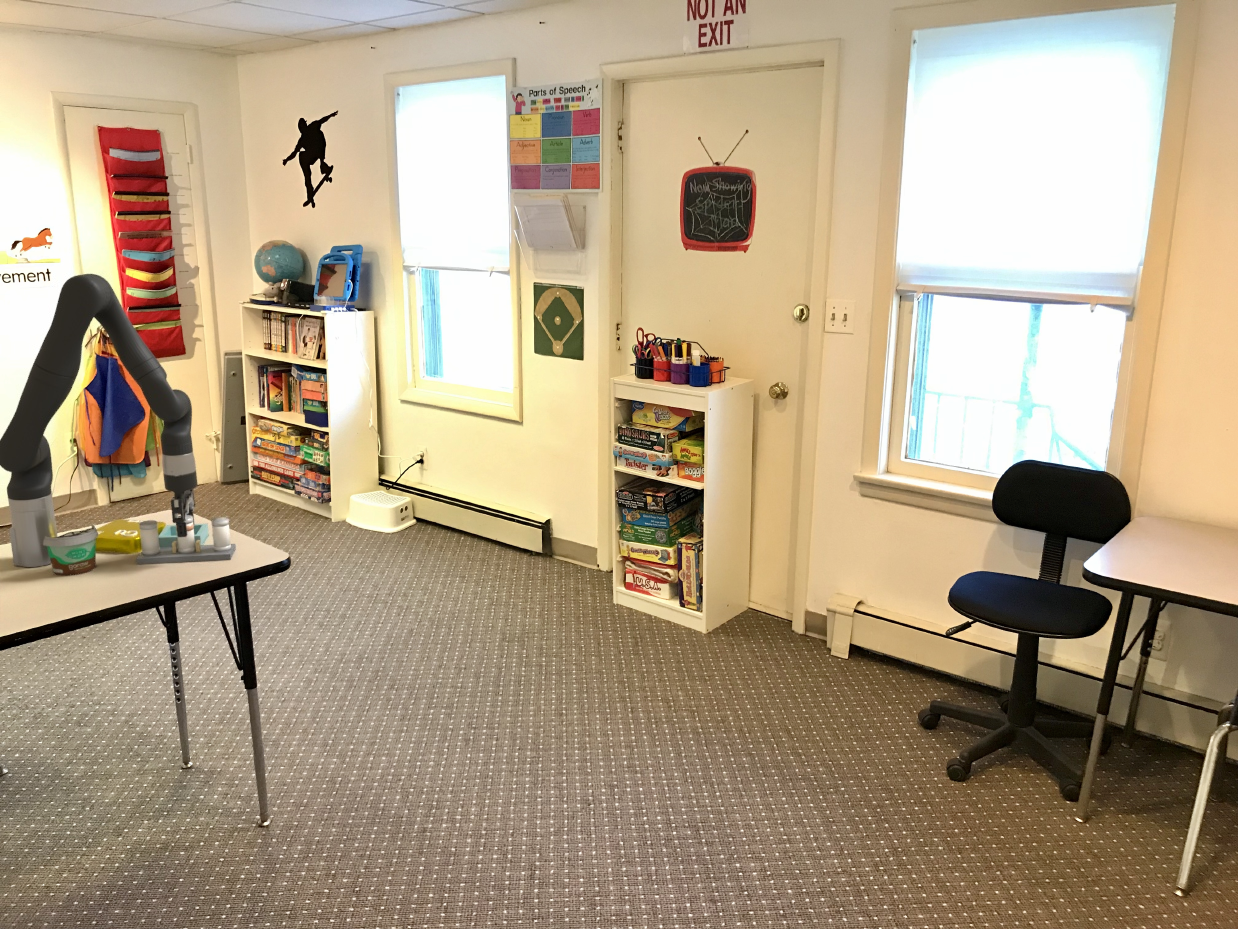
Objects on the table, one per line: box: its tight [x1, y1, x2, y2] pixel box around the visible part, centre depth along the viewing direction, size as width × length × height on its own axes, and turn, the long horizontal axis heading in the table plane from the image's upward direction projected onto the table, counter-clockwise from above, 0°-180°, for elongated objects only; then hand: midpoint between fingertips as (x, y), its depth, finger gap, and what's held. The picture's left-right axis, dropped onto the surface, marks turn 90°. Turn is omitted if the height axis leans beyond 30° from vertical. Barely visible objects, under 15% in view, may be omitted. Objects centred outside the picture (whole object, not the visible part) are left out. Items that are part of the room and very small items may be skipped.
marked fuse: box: [176, 515, 196, 554], centre depth 239 cm, size 4×4×9 cm
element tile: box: [95, 518, 167, 554], centre depth 249 cm, size 15×15×5 cm
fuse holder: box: [136, 516, 237, 565], centre depth 239 cm, size 22×8×10 cm, turn 103°
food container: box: [43, 524, 98, 577], centre depth 227 cm, size 12×6×10 cm, turn 147°
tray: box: [158, 523, 210, 547], centre depth 250 cm, size 10×10×4 cm
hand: (186, 531), depth 239 cm, fingers open, 8 cm apart
